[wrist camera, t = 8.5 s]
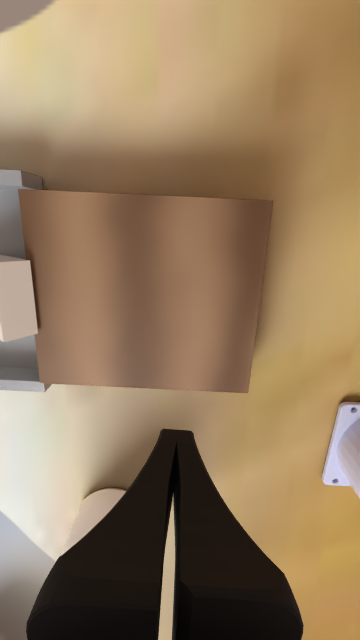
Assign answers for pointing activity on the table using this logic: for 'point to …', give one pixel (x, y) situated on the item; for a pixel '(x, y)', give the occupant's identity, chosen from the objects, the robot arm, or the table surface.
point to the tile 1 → (16, 299)
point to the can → (92, 513)
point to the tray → (7, 239)
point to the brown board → (145, 288)
